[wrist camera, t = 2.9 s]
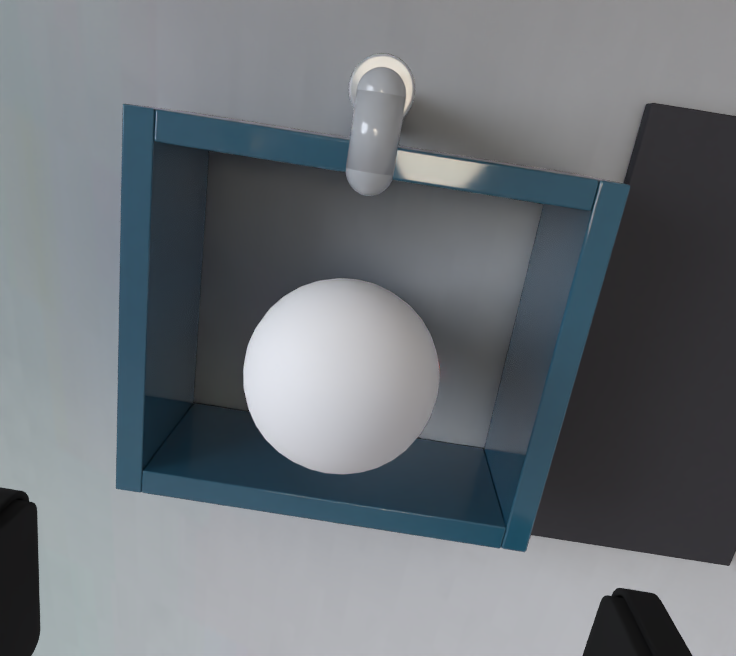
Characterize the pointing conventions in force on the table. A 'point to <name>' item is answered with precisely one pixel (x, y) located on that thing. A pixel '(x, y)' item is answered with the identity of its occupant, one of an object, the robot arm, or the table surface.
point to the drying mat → (659, 359)
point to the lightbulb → (341, 376)
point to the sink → (237, 428)
